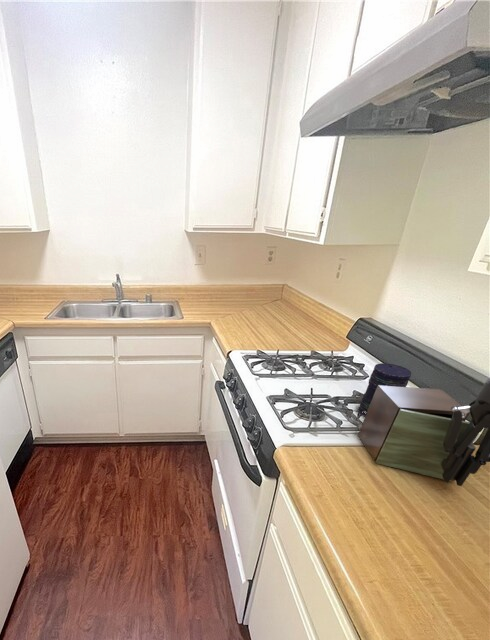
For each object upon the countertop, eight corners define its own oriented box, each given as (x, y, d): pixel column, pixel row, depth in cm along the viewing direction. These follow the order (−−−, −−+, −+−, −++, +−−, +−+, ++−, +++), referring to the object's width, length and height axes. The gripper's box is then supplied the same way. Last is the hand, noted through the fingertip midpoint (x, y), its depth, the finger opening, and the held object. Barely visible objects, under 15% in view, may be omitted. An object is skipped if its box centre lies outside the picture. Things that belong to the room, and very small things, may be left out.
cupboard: (438, 465, 88) (470, 412, 79) (374, 460, 89) (399, 407, 80) (414, 439, 98) (441, 389, 89) (357, 435, 99) (377, 385, 90)
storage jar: (395, 423, 105) (416, 378, 97) (360, 418, 107) (378, 373, 99) (387, 408, 113) (407, 365, 105) (355, 403, 115) (371, 361, 107)
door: (455, 497, 78) (493, 441, 70) (378, 478, 83) (404, 423, 75) (447, 478, 84) (482, 424, 75) (375, 461, 89) (400, 408, 80)
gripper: (557, 384, 64) (487, 480, 77) (461, 368, 69) (411, 461, 82) (575, 401, 58) (497, 502, 71) (469, 383, 63) (414, 480, 76)
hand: (451, 480), depth 77 cm, fingers closed on door, 2 cm apart
